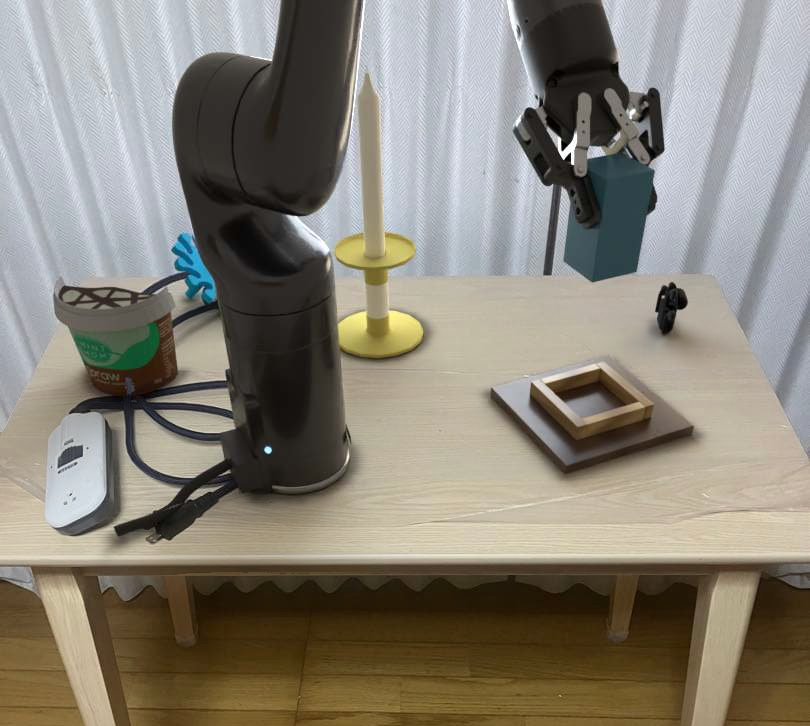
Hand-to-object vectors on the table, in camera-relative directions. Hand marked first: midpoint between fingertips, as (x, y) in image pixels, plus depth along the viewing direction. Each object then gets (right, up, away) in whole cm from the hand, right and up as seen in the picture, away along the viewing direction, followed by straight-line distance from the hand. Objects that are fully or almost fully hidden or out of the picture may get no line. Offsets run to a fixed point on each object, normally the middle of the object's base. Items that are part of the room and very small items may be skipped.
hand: (620, 218), depth 74 cm
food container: (-47, -12, +15) cm, 51 cm away
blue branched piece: (-41, +1, +28) cm, 50 cm away
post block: (-1, -3, +5) cm, 6 cm away
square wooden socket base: (-1, -15, +10) cm, 18 cm away
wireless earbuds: (+11, -4, +22) cm, 25 cm away
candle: (-21, -5, +22) cm, 31 cm away
